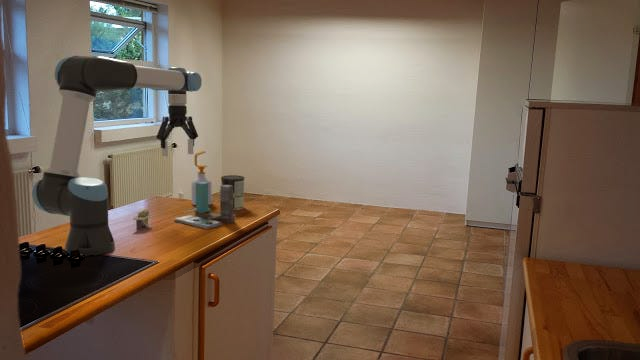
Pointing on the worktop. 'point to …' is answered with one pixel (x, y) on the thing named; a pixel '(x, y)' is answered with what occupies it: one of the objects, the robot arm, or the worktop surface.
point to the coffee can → (235, 189)
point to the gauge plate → (198, 222)
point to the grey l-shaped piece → (222, 207)
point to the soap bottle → (201, 178)
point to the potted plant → (142, 219)
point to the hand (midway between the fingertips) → (178, 155)
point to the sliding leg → (201, 198)
